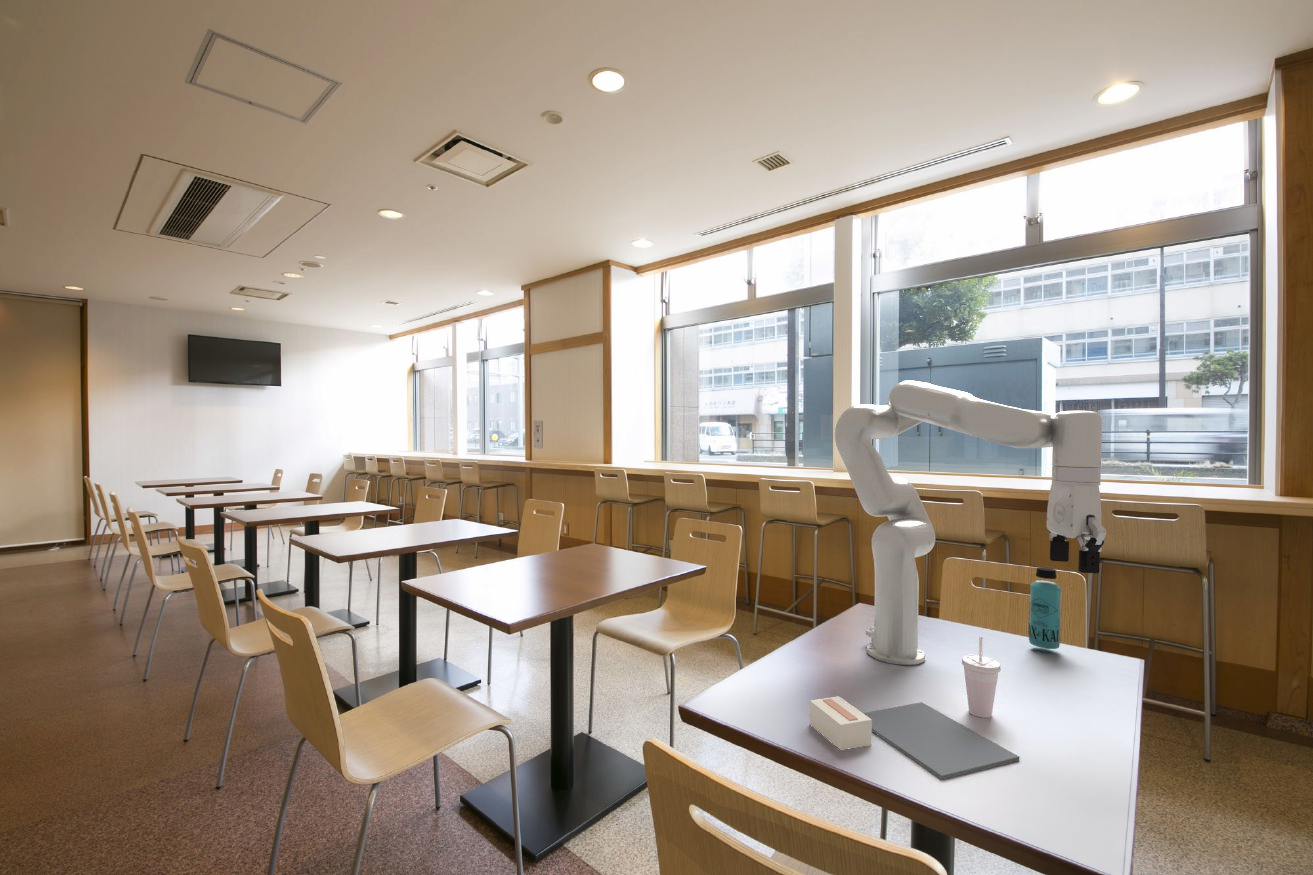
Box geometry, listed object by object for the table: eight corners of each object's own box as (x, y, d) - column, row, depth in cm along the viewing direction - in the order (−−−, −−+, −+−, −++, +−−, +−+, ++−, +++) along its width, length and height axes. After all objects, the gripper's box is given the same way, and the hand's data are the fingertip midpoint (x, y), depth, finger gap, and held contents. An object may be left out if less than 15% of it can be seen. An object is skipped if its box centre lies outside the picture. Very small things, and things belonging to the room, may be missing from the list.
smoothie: (995, 708, 111) (997, 634, 111) (1003, 724, 105) (1005, 645, 105) (958, 702, 113) (959, 630, 113) (963, 717, 107) (965, 641, 107)
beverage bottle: (1028, 643, 146) (1030, 563, 146) (1061, 649, 142) (1062, 567, 142) (1027, 651, 141) (1028, 568, 141) (1060, 658, 137) (1062, 572, 137)
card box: (809, 725, 103) (809, 699, 103) (838, 721, 105) (838, 695, 105) (840, 752, 95) (840, 723, 95) (871, 746, 97) (871, 718, 97)
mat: (852, 718, 106) (852, 714, 106) (921, 705, 112) (921, 702, 112) (941, 779, 87) (941, 775, 87) (1019, 760, 93) (1019, 756, 93)
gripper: (1031, 472, 120) (1029, 556, 120) (1080, 479, 103) (1078, 576, 103) (1071, 473, 119) (1068, 557, 119) (1127, 480, 102) (1125, 578, 102)
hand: (1073, 566), depth 111 cm, fingers open, 9 cm apart
